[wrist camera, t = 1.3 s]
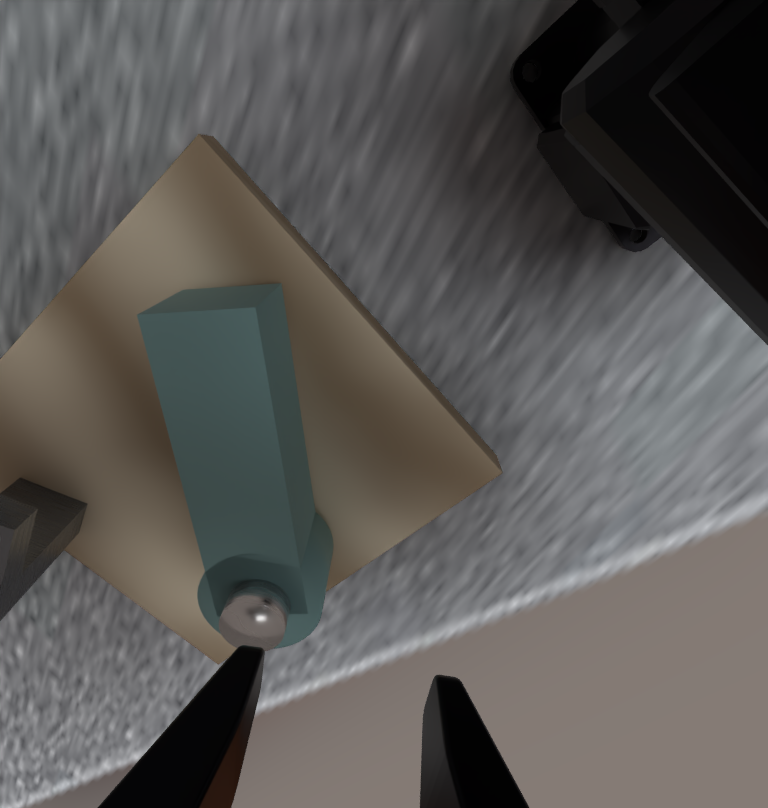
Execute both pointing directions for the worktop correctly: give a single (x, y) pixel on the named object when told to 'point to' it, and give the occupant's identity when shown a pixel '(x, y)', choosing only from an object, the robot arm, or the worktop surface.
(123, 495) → the board
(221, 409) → the link
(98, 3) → the worktop surface
